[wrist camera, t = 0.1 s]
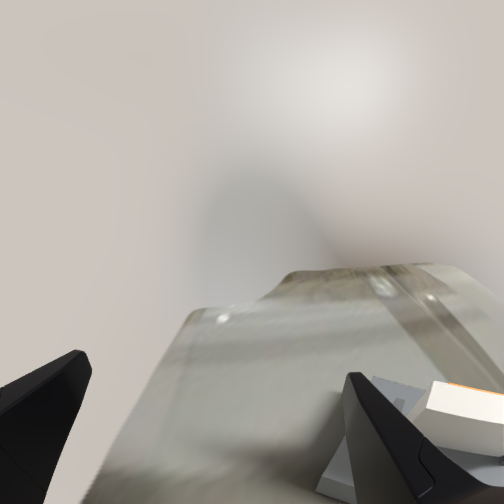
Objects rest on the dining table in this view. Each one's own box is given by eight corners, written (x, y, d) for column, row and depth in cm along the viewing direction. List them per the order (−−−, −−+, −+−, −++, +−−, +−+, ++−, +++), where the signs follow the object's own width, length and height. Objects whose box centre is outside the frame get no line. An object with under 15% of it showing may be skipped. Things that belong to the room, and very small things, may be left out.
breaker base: (500, 528, 8) (546, 496, 6) (314, 491, 17) (329, 457, 15) (510, 431, 17) (539, 390, 15) (365, 397, 27) (380, 353, 24)
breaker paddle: (499, 456, 13) (562, 430, 7) (396, 436, 18) (425, 408, 12) (505, 435, 14) (566, 400, 8) (405, 414, 19) (435, 375, 13)
